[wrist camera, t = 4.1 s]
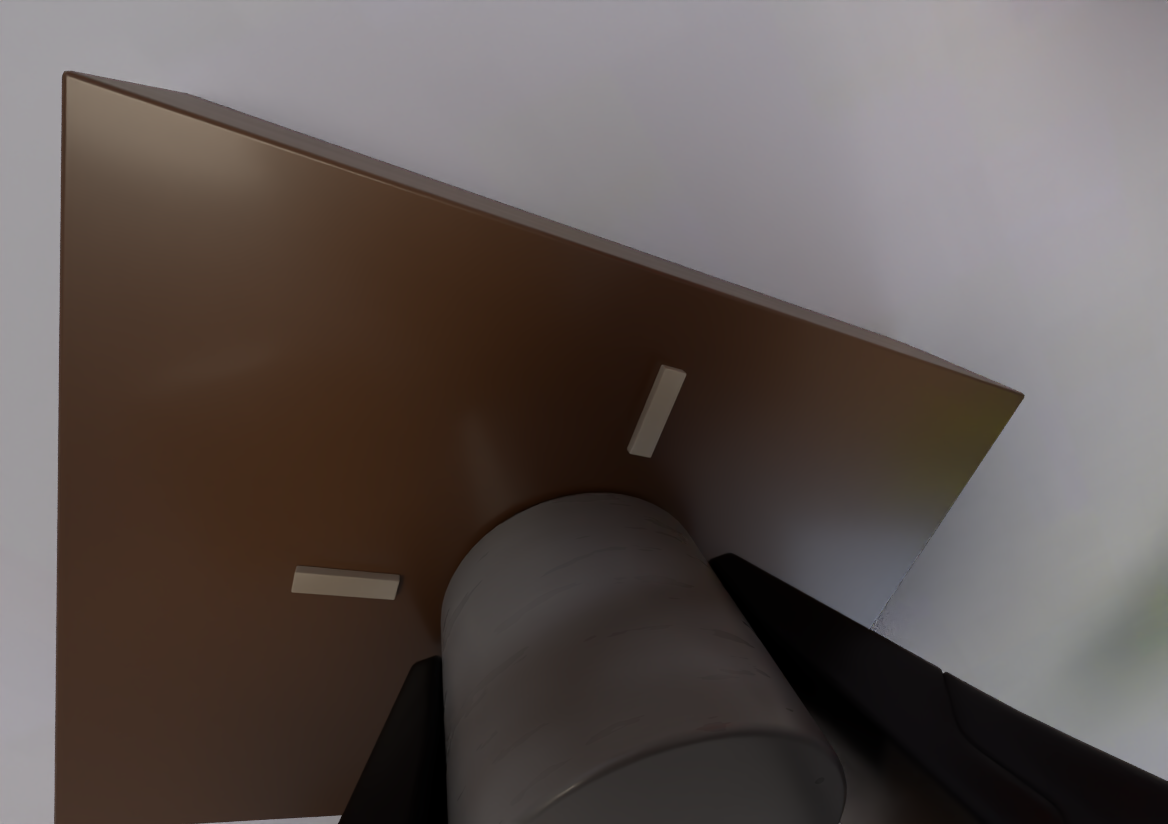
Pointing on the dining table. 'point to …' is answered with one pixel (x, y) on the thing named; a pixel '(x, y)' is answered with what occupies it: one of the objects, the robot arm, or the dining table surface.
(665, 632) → the dial
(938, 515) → the dial panel
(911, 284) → the dining table surface
